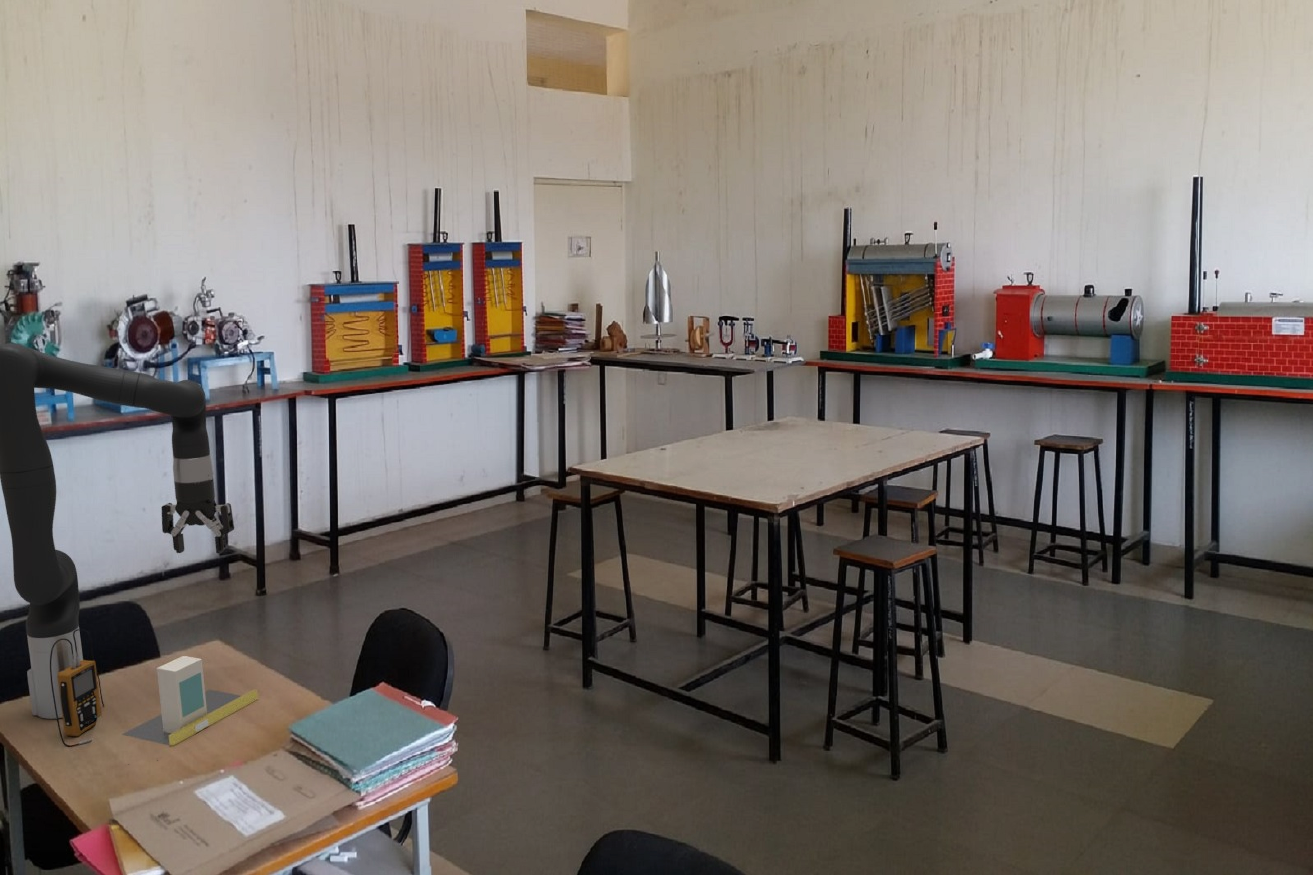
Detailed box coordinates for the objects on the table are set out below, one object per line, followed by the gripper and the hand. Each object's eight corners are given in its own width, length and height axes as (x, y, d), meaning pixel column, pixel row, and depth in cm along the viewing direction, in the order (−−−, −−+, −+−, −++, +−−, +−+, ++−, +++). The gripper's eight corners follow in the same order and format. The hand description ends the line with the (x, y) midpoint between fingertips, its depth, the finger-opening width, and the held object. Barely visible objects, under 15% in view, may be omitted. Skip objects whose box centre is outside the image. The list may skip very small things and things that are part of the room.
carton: (163, 731, 206) (156, 668, 204) (189, 717, 212) (183, 655, 210) (182, 735, 204) (175, 671, 202) (208, 721, 210) (202, 659, 208)
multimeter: (96, 750, 202) (84, 650, 199) (50, 745, 204) (37, 646, 201) (147, 716, 217) (136, 622, 213) (103, 712, 219) (92, 619, 215)
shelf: (122, 741, 206) (120, 724, 205) (210, 696, 225) (208, 680, 225) (174, 753, 201) (172, 736, 200) (259, 706, 220) (257, 690, 220)
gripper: (150, 481, 218) (158, 557, 222) (219, 481, 218) (225, 558, 221) (169, 473, 226) (176, 547, 229) (235, 473, 225) (241, 547, 228)
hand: (200, 552), depth 225 cm, fingers open, 8 cm apart
